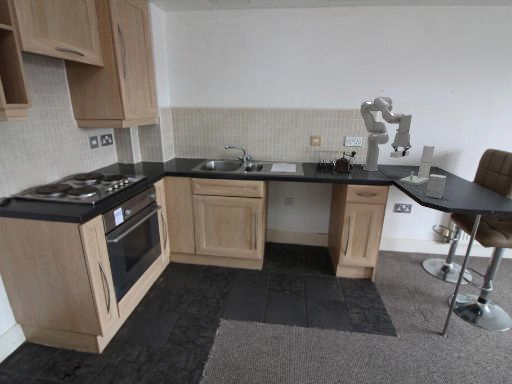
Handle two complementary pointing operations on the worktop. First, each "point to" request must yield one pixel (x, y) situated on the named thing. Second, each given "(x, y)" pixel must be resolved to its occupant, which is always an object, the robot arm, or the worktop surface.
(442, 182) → the small box
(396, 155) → the power strip
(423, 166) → the tall grey block
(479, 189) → the worktop surface
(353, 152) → the dark piece
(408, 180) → the mount board
